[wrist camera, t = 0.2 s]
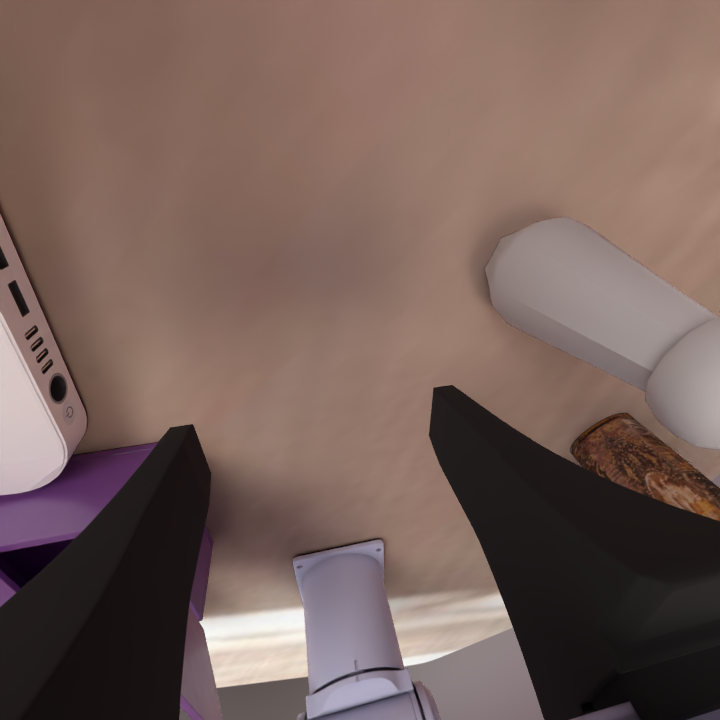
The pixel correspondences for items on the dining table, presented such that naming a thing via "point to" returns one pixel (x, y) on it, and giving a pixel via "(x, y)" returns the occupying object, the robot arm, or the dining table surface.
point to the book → (645, 465)
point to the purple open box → (73, 518)
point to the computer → (31, 386)
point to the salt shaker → (613, 320)
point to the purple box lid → (198, 676)
